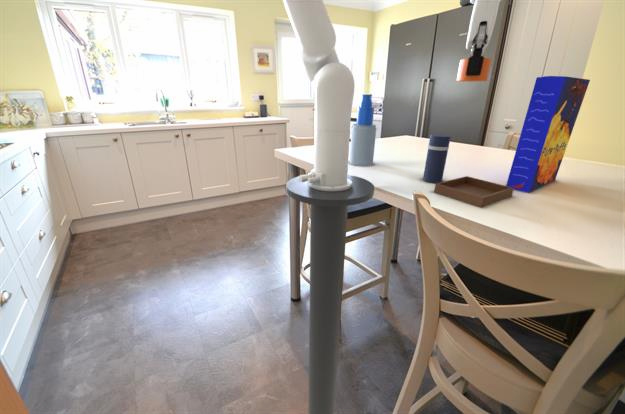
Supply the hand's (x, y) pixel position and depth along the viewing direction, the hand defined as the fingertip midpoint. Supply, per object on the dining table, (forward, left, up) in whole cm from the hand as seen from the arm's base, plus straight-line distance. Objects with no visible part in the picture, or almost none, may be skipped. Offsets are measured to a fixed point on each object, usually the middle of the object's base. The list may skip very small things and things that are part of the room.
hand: (472, 75), depth 73 cm
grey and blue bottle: (-3, +36, -30) cm, 47 cm away
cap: (0, 0, -1) cm, 1 cm away
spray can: (+1, +7, -30) cm, 31 cm away
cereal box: (+25, -11, -30) cm, 41 cm away
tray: (-1, -7, -30) cm, 31 cm away
